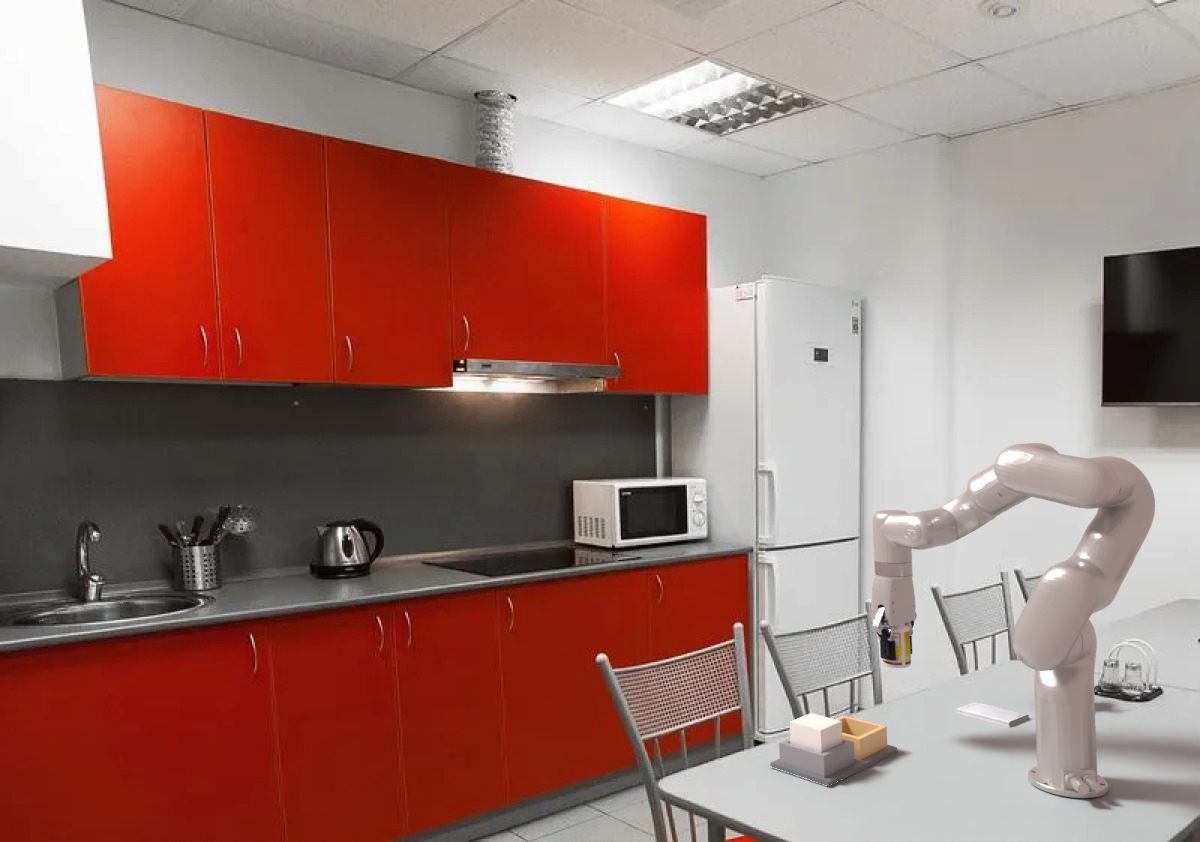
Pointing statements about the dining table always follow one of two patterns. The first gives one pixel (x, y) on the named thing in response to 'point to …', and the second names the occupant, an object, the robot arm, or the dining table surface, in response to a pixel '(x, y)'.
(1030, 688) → the dining table surface
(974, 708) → the hard drive
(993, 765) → the dining table surface
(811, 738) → the block sorting tray
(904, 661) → the supplement bottle
